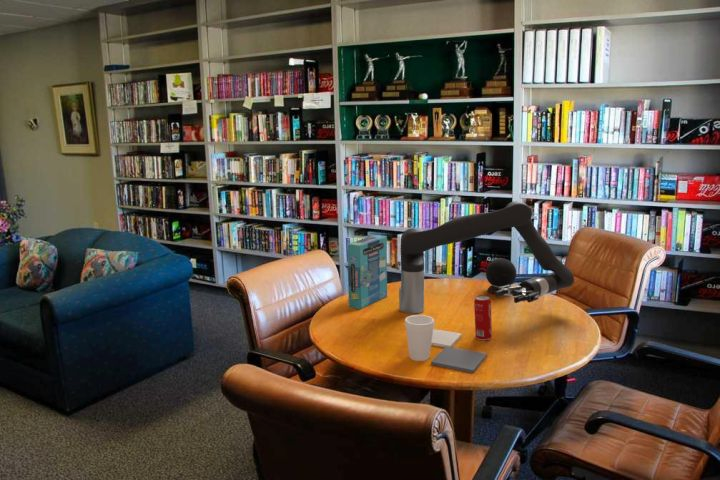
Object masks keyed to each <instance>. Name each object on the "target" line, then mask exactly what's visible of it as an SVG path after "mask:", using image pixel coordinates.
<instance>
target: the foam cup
mask: <svg viewBox="0 0 720 480" xmlns="http://www.w3.org/2000/svg"><path fill="white" fill-rule="evenodd" d="M404 327H405V331H406V338H407V346H408V353H409V358H410V359H411V360H413V361H416V362H425V361H427V360H429V358H430V354H431V348H432V345H431V342H432V335H433V329H435V319H434V317H432V316H430V315H426V314H425V315H424V314H412V315H410V316H406V317H405V319H404Z"/></svg>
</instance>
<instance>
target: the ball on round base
mask: <svg viewBox="0 0 720 480" xmlns="http://www.w3.org/2000/svg"><path fill="white" fill-rule="evenodd" d="M516 269H517V268H516V266H515V265H514V264H513V262H511V261H510V260H509V259H506V258H503V257H499V258H496V259H493V260H491V261H490V262H489V263H488V264H487V267H486V269H485V277H486V279H487V280H486V281H487V282H488V283H489V284H490V285H489V287H488V288H487V293H489V294H492V295H495V293H496V291H499V287H502V286H506V285H511V286H512V285H513V283H515V280H516V278H517V270H516ZM507 293H508V292H507ZM510 294H512V291H511V292H510Z"/></svg>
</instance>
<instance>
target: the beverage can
mask: <svg viewBox="0 0 720 480" xmlns="http://www.w3.org/2000/svg"><path fill="white" fill-rule="evenodd" d="M473 303H474V304H473V309H474V330H475V331H474V332H475V338H476V339H477V340H480V341H489V340H491V339H492V338H493V331H492V329H493V325H492V321H493V320H492V300H491V298H490V297H489V296H487V295H477V296H475V298H474V301H473Z"/></svg>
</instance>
